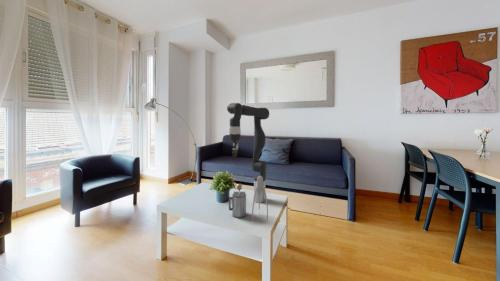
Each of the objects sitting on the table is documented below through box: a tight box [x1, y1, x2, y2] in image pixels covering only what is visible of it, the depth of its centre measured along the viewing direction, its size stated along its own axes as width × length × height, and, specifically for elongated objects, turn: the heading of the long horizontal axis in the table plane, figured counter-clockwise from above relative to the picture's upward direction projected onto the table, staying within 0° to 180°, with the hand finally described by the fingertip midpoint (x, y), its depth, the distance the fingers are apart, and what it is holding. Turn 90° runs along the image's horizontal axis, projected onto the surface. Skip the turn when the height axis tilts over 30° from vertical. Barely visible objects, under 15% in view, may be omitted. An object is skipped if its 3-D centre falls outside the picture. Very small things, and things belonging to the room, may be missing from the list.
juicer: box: [251, 176, 269, 222], centre depth 137 cm, size 10×9×30 cm
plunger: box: [236, 183, 243, 194], centre depth 141 cm, size 7×7×18 cm
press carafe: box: [228, 191, 247, 219], centre depth 142 cm, size 9×12×15 cm
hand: (235, 156), depth 140 cm, fingers open, 8 cm apart
